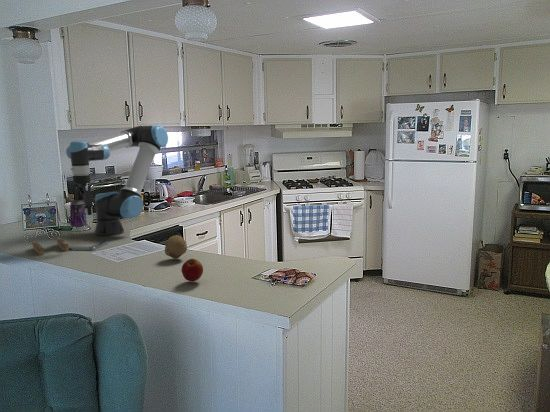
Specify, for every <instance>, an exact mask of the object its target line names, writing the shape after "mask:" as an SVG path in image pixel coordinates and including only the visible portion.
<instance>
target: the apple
mask: <svg viewBox="0 0 550 412" xmlns="http://www.w3.org/2000/svg"><path fill="white" fill-rule="evenodd" d="M203 273H204V267H203V264H202V262H201V261H199V259H196V258H189V259H188V260H186V261H185V262H184V263H183V264H182V266H181V274H182V276H183V278H184V279H185V280H186V281H189V282H196V281H198V280H200V278H201V277H202V275H203Z"/></svg>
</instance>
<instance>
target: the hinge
mask: <svg viewBox="0 0 550 412" xmlns="http://www.w3.org/2000/svg"><path fill="white" fill-rule="evenodd" d="M107 245H108V241H107V240H102V241H100V242H98V243H96V244H93V245H91V246H81V245H80V246H74V245H72V246H69V245H68V246H69V251H89V252H91V251H92V252H93V251H96V250H97V249H100V248H103V247H104V246H107Z"/></svg>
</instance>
